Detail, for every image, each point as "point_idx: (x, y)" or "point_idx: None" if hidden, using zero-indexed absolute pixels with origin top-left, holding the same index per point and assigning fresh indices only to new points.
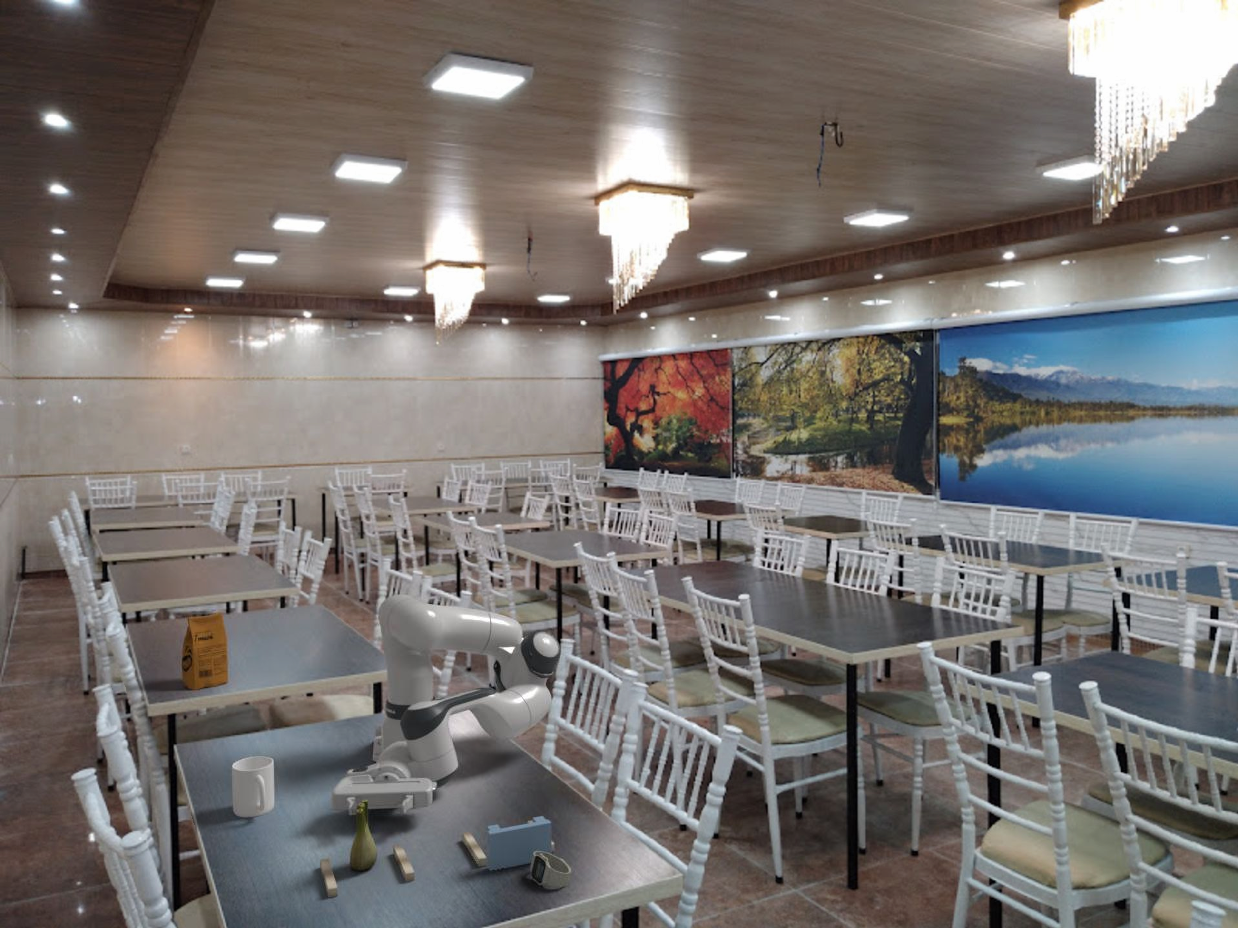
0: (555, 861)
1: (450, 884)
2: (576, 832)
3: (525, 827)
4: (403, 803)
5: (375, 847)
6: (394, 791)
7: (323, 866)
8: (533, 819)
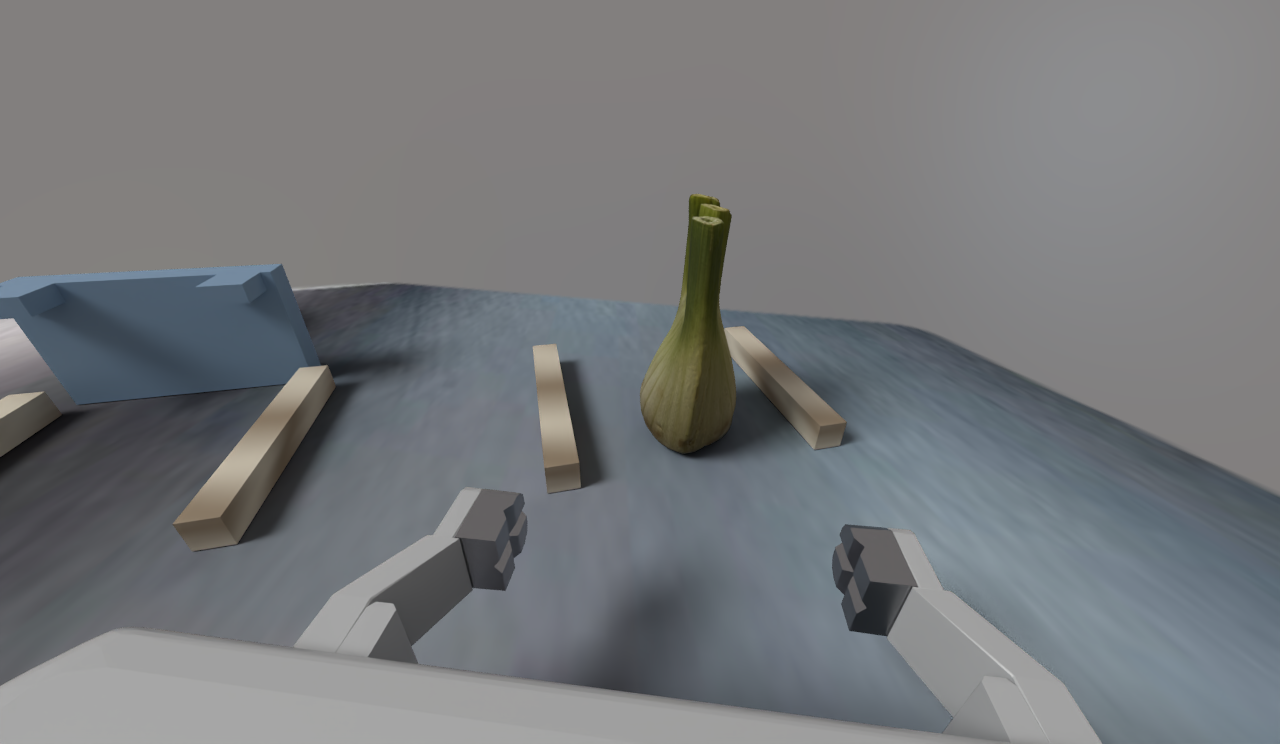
0: None
1: (453, 346)
2: None
3: (137, 272)
4: (464, 506)
5: (646, 375)
6: (490, 688)
7: (810, 393)
8: (27, 299)
